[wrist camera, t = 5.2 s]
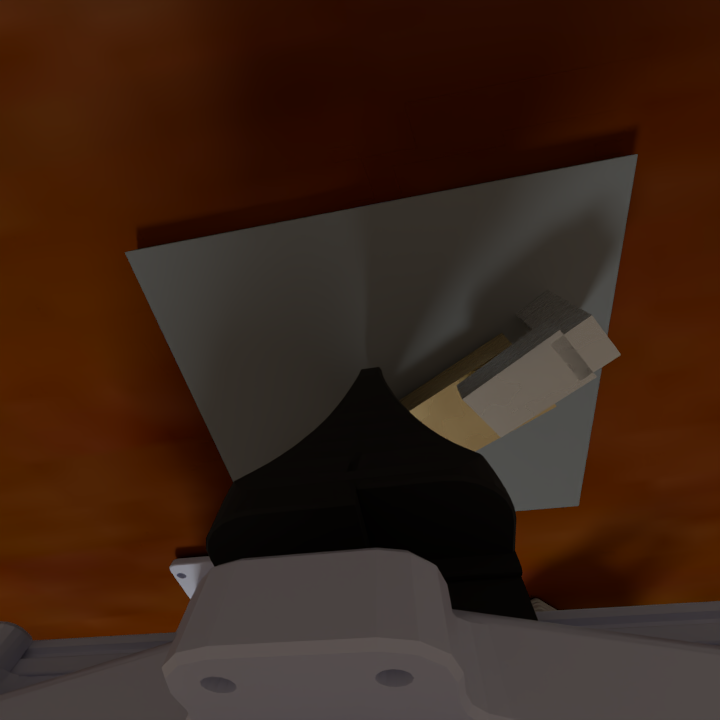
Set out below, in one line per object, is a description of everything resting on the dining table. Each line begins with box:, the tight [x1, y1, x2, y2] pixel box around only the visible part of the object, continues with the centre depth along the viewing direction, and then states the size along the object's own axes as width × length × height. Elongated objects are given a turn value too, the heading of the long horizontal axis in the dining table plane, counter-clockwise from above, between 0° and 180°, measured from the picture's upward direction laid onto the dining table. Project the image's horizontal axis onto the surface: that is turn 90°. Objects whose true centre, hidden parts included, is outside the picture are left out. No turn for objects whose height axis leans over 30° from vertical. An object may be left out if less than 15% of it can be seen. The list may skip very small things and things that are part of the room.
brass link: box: [399, 333, 557, 451], centre depth 13 cm, size 12×4×1 cm, turn 131°
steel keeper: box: [456, 290, 621, 437], centre depth 11 cm, size 4×2×2 cm, turn 135°
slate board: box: [125, 154, 638, 511], centre depth 13 cm, size 14×16×1 cm
